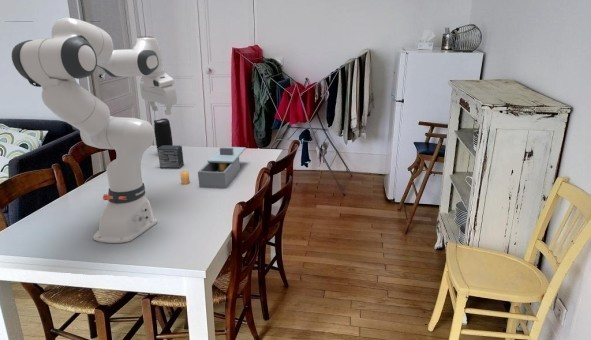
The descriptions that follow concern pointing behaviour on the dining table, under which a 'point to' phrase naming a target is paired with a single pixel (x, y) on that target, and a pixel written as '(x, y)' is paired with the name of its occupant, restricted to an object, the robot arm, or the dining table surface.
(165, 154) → the small box
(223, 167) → the seated jaw
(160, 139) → the portable speaker
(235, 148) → the lid
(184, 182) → the peg
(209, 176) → the block
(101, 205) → the dining table surface
